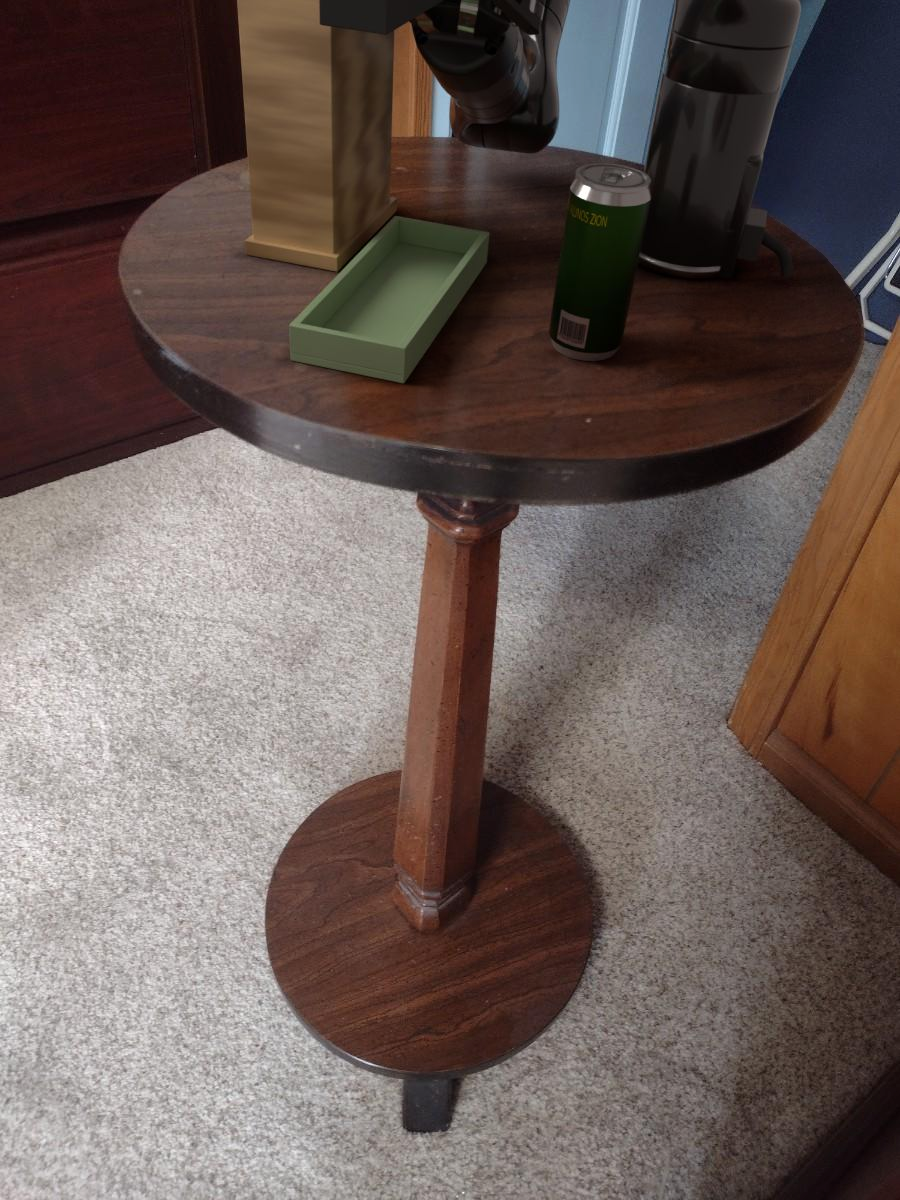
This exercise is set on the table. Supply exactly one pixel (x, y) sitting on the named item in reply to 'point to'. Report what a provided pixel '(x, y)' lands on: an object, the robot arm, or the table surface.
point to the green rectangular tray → (390, 300)
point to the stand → (314, 133)
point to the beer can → (598, 260)
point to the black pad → (372, 13)
